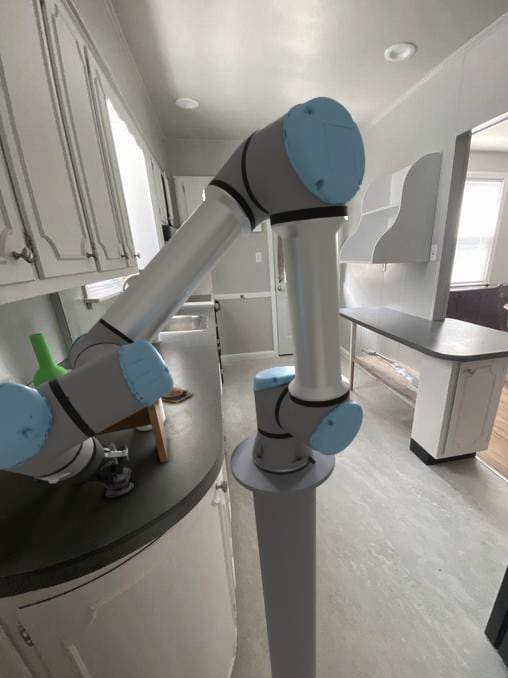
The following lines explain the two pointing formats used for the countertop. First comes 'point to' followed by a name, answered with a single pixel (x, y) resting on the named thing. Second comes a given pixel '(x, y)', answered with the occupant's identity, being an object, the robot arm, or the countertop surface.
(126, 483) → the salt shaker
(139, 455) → the countertop surface
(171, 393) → the brown sandwich
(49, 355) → the wine bottle
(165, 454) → the desk
